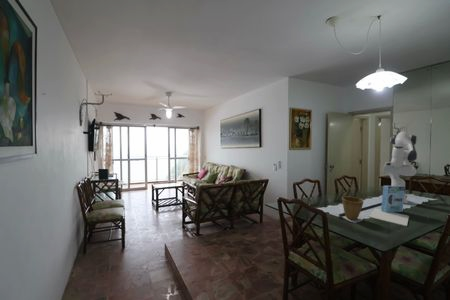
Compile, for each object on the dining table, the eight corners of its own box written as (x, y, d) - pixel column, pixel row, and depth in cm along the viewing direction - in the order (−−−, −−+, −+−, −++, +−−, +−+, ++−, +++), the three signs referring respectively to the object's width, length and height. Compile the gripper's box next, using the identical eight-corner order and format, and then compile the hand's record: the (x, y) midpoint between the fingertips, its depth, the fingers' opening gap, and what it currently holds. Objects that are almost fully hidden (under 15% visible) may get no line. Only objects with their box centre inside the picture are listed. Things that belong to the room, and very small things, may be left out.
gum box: (385, 212, 187) (388, 186, 186) (380, 210, 192) (382, 185, 190) (402, 211, 191) (405, 186, 190) (396, 210, 196) (399, 185, 195)
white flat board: (374, 209, 197) (375, 208, 197) (408, 216, 181) (409, 215, 181) (369, 217, 177) (369, 216, 177) (406, 226, 160) (406, 225, 160)
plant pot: (342, 213, 184) (344, 195, 182) (363, 218, 174) (364, 199, 173) (339, 218, 172) (340, 199, 171) (360, 223, 163) (362, 203, 161)
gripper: (412, 165, 189) (410, 180, 190) (384, 162, 203) (382, 176, 204) (412, 165, 184) (410, 181, 185) (383, 162, 198) (381, 177, 199)
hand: (395, 178), depth 195 cm, fingers closed
